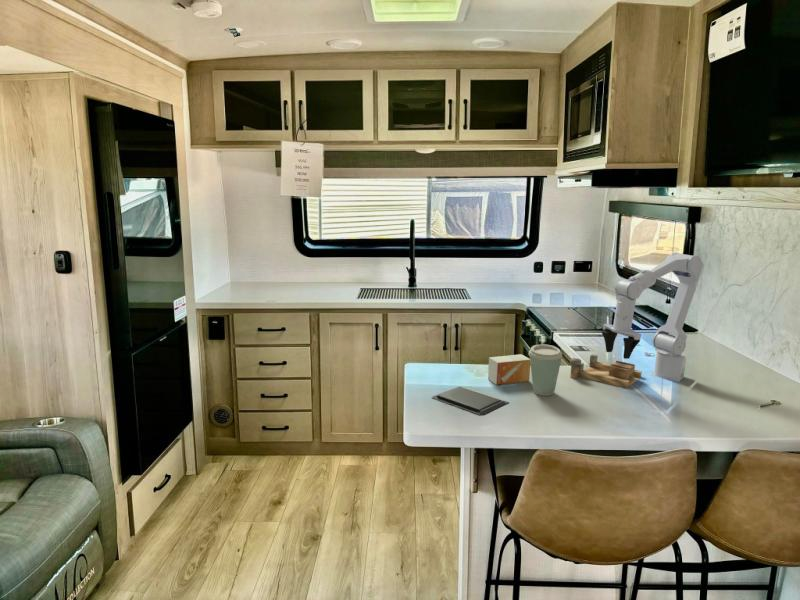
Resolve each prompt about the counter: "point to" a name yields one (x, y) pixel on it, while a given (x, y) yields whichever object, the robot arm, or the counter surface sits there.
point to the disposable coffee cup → (544, 368)
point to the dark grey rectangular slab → (470, 400)
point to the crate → (622, 370)
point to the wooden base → (599, 372)
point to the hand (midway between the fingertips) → (617, 355)
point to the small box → (509, 369)
